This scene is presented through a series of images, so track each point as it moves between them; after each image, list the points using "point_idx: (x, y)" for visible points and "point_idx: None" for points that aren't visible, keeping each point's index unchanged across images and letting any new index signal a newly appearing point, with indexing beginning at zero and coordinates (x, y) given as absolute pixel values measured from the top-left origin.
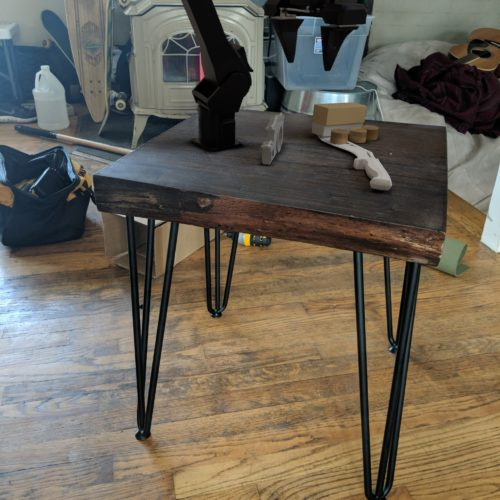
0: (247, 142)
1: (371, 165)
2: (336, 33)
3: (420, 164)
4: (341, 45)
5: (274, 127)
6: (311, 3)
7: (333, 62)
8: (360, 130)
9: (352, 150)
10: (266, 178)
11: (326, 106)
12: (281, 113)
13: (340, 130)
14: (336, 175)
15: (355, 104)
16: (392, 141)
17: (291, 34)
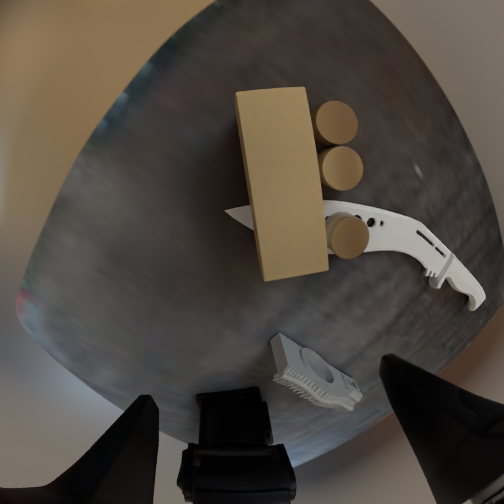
0: (239, 373)
1: (460, 285)
2: (481, 455)
3: (461, 171)
4: (476, 395)
5: (343, 400)
6: None
7: (415, 367)
8: (351, 169)
9: (395, 245)
10: (378, 388)
11: (302, 259)
12: (286, 376)
13: (350, 236)
14: (425, 316)
15: (277, 112)
16: (365, 97)
17: (121, 501)
